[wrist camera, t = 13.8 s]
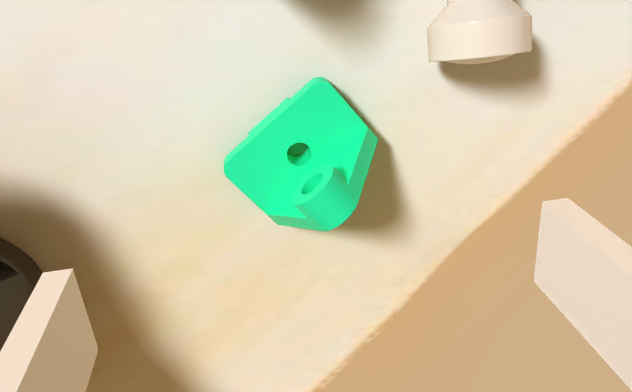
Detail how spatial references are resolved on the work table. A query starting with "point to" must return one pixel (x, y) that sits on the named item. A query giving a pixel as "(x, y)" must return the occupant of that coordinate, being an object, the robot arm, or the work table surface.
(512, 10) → the spotlight
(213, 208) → the work table surface
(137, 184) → the work table surface
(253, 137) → the camera mount
